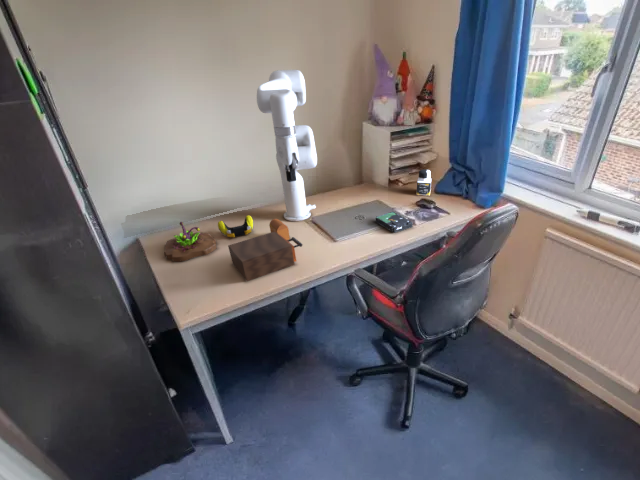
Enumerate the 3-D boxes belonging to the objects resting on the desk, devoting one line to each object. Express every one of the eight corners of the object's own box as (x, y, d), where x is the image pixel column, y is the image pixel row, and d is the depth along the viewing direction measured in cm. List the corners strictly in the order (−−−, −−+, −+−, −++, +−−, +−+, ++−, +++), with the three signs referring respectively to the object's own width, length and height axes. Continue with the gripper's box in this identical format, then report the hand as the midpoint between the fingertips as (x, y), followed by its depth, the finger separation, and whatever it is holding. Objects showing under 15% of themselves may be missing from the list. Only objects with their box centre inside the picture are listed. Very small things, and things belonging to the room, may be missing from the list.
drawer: (292, 244, 156) (290, 229, 152) (307, 257, 147) (305, 242, 143) (238, 261, 146) (235, 246, 142) (252, 276, 136) (248, 260, 133)
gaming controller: (219, 231, 169) (222, 241, 162) (216, 220, 166) (219, 229, 159) (253, 224, 174) (257, 233, 167) (250, 213, 171) (255, 221, 164)
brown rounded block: (282, 233, 167) (279, 217, 163) (290, 239, 161) (287, 223, 157) (271, 236, 164) (268, 220, 160) (279, 243, 159) (276, 226, 155)
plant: (209, 233, 168) (202, 209, 162) (221, 251, 154) (214, 225, 148) (160, 245, 159) (151, 221, 153) (168, 265, 146) (159, 239, 139)
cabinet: (278, 249, 154) (274, 231, 149) (294, 264, 144) (291, 245, 139) (232, 264, 145) (227, 245, 141) (246, 281, 135) (242, 261, 131)
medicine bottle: (416, 195, 200) (417, 172, 193) (417, 190, 206) (418, 168, 199) (429, 195, 199) (431, 172, 192) (430, 190, 205) (432, 168, 198)
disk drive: (412, 228, 169) (392, 216, 179) (413, 222, 167) (393, 210, 177) (394, 234, 164) (374, 221, 174) (394, 228, 162) (374, 216, 172)
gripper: (267, 129, 141) (274, 178, 151) (284, 136, 131) (291, 188, 141) (285, 126, 144) (292, 174, 155) (303, 133, 134) (309, 184, 145)
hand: (291, 180), depth 148 cm, fingers closed
